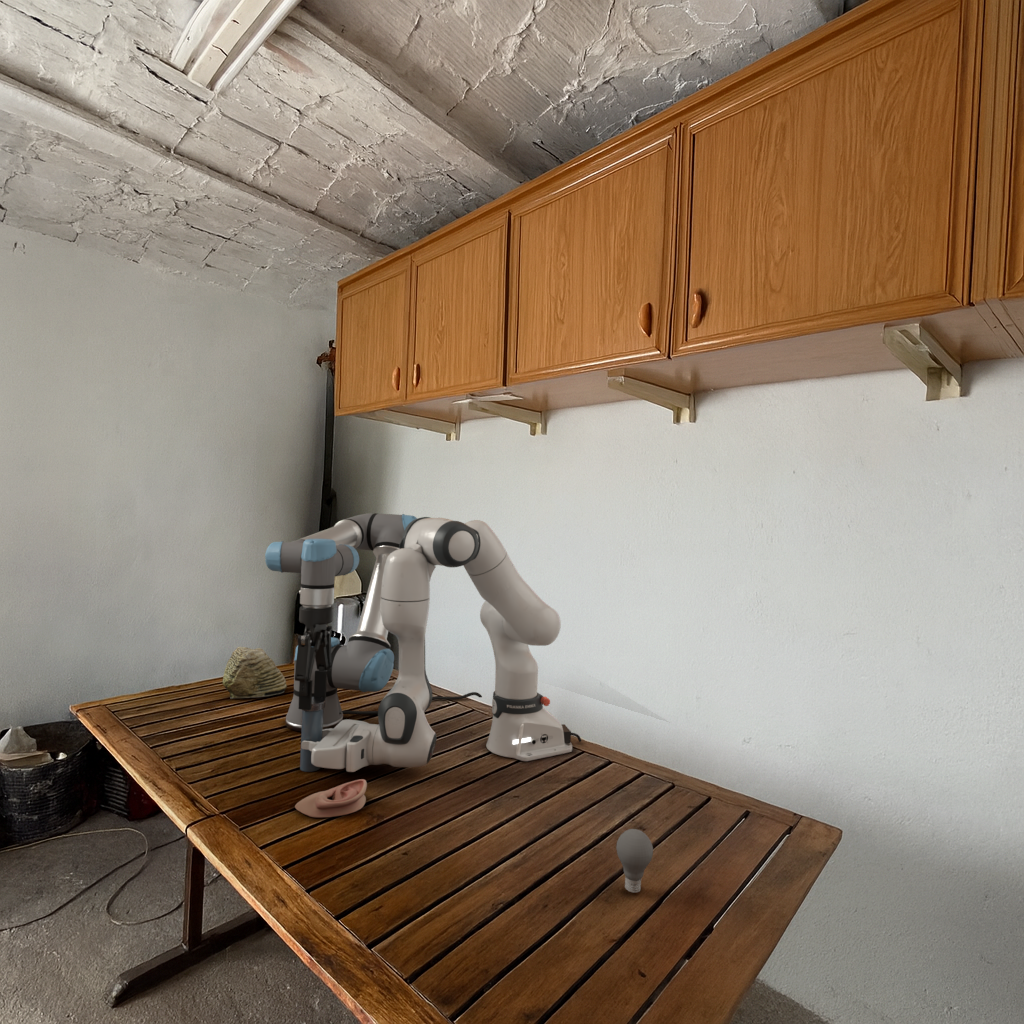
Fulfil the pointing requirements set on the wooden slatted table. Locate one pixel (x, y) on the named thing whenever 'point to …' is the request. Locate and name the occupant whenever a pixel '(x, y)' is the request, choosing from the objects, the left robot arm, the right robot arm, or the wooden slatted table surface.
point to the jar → (310, 736)
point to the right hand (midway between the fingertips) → (307, 739)
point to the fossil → (252, 674)
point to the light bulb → (634, 857)
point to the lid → (317, 704)
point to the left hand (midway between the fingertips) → (312, 703)
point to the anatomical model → (335, 800)
